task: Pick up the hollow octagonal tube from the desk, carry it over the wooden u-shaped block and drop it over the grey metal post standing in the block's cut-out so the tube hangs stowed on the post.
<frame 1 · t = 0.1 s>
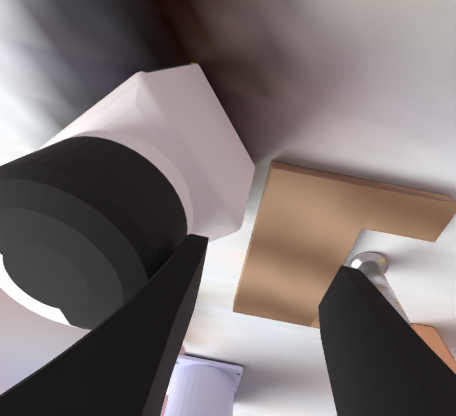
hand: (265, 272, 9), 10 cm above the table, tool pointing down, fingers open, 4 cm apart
hollow octagonal tube: (408, 342, 26), on the table
wooden u-shaped block: (323, 257, 22), on the table
post: (367, 265, 22), on the table
medicine bottle: (184, 144, 18), on the table, touching gripper
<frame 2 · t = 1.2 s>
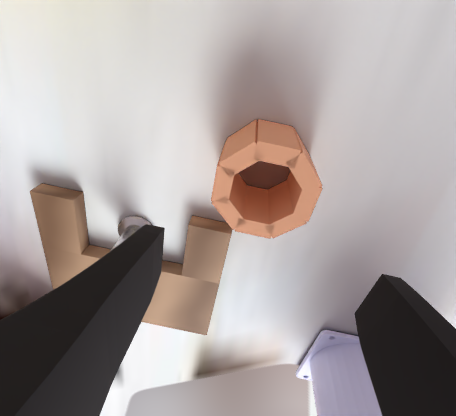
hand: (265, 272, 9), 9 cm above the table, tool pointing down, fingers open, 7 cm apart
hollow octagonal tube: (263, 163, 17), on the table
wooden u-shaped block: (137, 263, 23), on the table
post: (137, 230, 21), on the table
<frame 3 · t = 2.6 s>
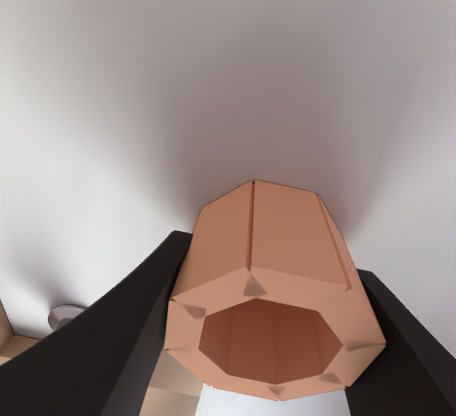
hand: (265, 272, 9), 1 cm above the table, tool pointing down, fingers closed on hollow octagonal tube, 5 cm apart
hollow octagonal tube: (264, 246, 10), on the table, touching gripper
wooden u-shaped block: (85, 358, 16), on the table
post: (78, 322, 14), on the table
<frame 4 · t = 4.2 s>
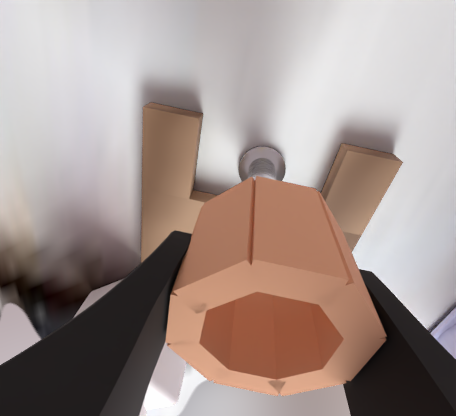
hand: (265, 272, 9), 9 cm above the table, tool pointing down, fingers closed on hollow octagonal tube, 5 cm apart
hollow octagonal tube: (265, 242, 10), point 7 cm above the table, touching gripper
wooden u-shaped block: (249, 214, 19), on the table
post: (261, 168, 17), on the table
medicine bottle: (146, 302, 25), on the table
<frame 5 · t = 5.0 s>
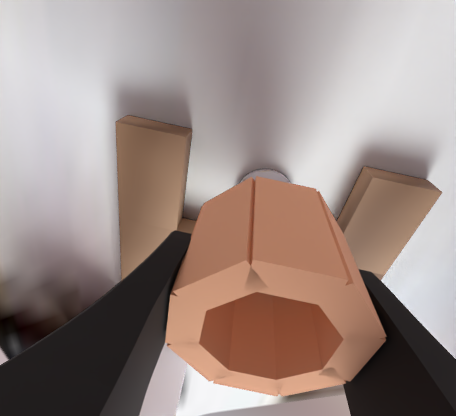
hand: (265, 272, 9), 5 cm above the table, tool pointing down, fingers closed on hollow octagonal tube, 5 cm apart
hollow octagonal tube: (265, 242, 10), point 4 cm above the table, touching gripper
wooden u-shaped block: (249, 246, 16), on the table
post: (264, 194, 14), on the table
medicine bottle: (131, 336, 22), on the table
when the fingers open (4 cm above the table, at t = 5.8 s): hollow octagonal tube drops 3 cm, resting on post.
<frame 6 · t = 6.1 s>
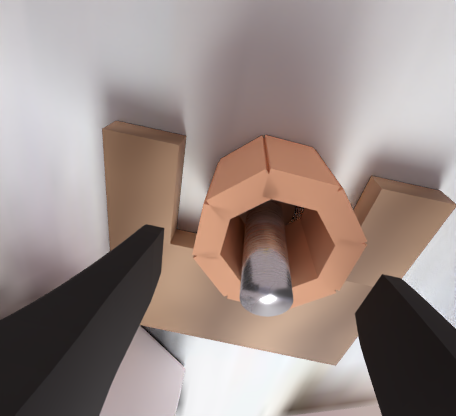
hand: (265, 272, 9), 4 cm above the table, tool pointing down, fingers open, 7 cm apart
hollow octagonal tube: (269, 196, 12), resting on post
wooden u-shaped block: (247, 259, 15), on the table
post: (264, 205, 13), on the table
medicine bottle: (125, 349, 21), on the table
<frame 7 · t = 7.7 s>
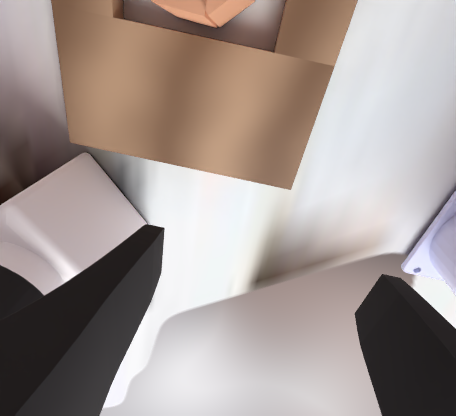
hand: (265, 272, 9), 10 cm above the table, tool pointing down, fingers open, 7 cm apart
wooden u-shaped block: (196, 56, 15), on the table
medicine bottle: (90, 207, 21), on the table
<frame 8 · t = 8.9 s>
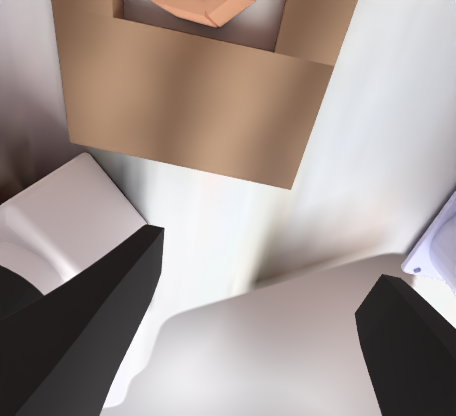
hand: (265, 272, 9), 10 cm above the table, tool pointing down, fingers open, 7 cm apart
wooden u-shaped block: (196, 56, 15), on the table
medicine bottle: (90, 207, 21), on the table
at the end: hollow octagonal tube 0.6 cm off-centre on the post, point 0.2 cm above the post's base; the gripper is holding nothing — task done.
